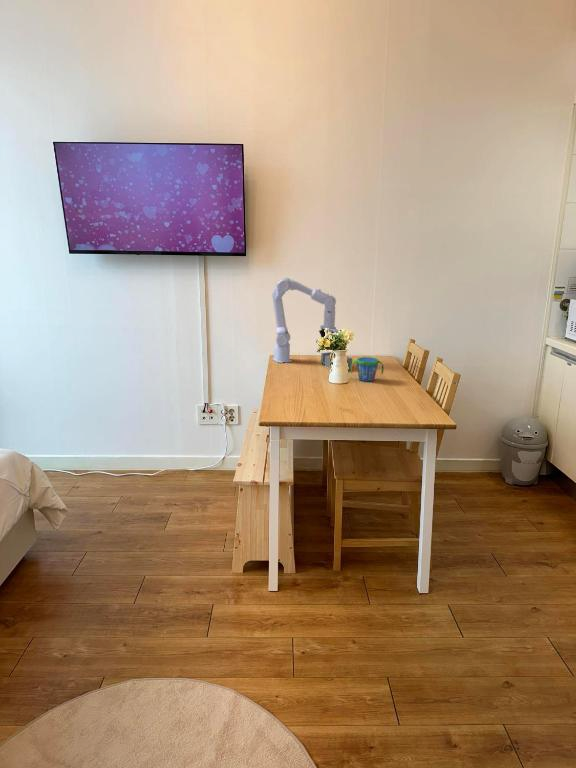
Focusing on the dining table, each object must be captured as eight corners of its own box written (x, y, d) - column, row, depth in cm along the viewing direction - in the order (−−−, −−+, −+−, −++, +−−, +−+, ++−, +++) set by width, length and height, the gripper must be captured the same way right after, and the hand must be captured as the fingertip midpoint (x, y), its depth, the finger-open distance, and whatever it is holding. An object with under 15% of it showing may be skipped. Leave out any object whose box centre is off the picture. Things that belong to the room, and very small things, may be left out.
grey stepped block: (318, 364, 300) (318, 353, 299) (334, 362, 305) (335, 351, 303) (334, 371, 286) (335, 359, 284) (351, 369, 291) (352, 358, 289)
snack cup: (349, 381, 267) (351, 361, 265) (350, 376, 277) (351, 356, 275) (383, 383, 265) (384, 362, 263) (382, 378, 275) (383, 357, 273)
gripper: (343, 321, 291) (342, 346, 294) (328, 316, 303) (327, 341, 307) (331, 321, 288) (330, 347, 291) (317, 317, 300) (316, 342, 304)
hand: (328, 344), depth 299 cm, fingers open, 7 cm apart
